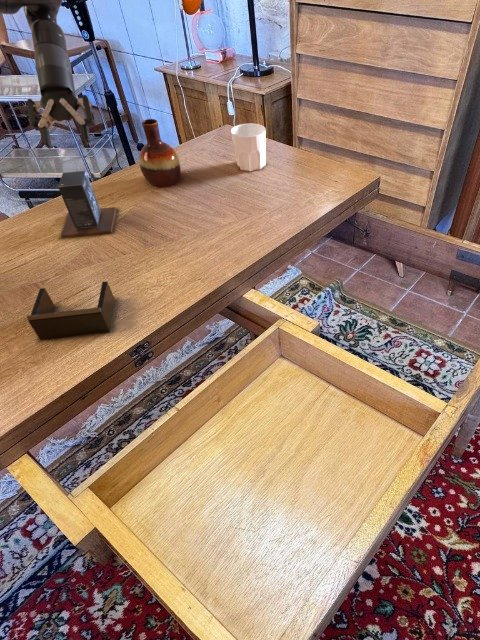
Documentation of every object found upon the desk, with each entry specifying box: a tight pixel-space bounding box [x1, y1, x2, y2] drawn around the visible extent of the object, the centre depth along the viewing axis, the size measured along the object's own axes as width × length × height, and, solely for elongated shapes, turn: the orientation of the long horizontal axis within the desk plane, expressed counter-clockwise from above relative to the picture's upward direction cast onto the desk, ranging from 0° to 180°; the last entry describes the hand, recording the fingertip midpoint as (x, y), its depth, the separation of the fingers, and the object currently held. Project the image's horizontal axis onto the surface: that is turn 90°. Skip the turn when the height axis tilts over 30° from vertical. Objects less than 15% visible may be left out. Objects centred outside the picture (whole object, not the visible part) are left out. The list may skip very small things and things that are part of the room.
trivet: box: [60, 206, 117, 239], centre depth 113 cm, size 12×12×1 cm
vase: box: [138, 118, 182, 188], centre depth 122 cm, size 11×11×15 cm
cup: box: [230, 123, 267, 173], centre depth 130 cm, size 10×10×10 cm
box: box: [57, 170, 101, 229], centre depth 108 cm, size 8×6×11 cm
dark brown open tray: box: [26, 280, 116, 341], centre depth 87 cm, size 13×10×6 cm
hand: (67, 145), depth 105 cm, fingers open, 8 cm apart
